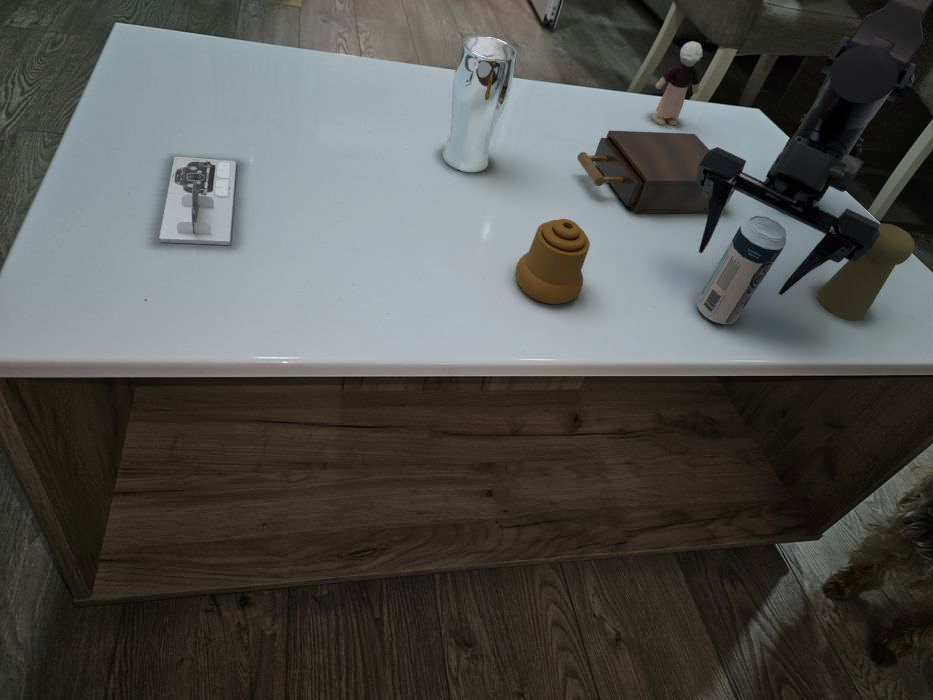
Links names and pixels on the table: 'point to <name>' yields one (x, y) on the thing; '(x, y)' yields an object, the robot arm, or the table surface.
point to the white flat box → (199, 202)
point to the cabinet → (665, 170)
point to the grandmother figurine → (678, 84)
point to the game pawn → (866, 275)
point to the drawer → (613, 171)
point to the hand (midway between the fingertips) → (739, 272)
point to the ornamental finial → (554, 262)
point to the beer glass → (478, 100)
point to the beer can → (741, 269)
